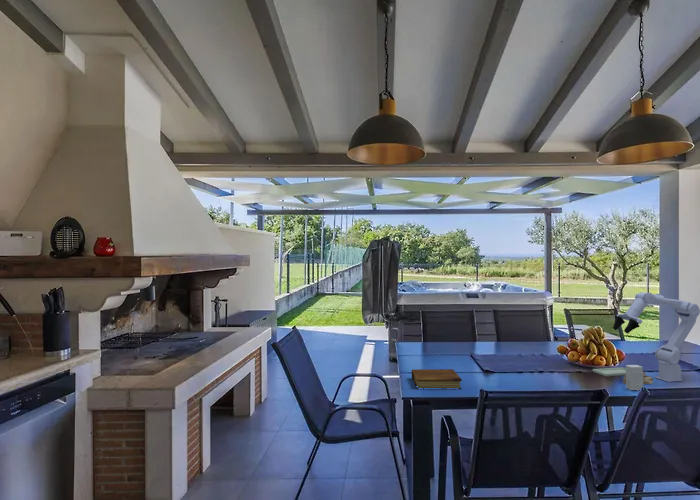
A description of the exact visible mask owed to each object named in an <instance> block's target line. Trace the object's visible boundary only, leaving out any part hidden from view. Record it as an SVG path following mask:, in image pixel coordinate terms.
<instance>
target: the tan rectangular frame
mask: <svg viewBox="0 0 700 500" xmlns="http://www.w3.org/2000/svg"><path fill="white" fill-rule="evenodd" d="M653 378H654V377H651V376H649V375H646V374H645V377H644V378H643V385H652V384H654V380H653ZM622 383H623V384H625V385H626V375H625V376H623V379H622Z"/></svg>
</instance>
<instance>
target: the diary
mask: <svg viewBox="0 0 700 500" xmlns="http://www.w3.org/2000/svg"><path fill="white" fill-rule="evenodd" d="M411 379H413V380H412V381H414V382H413V384H414V383H415V384H416V386H418V388H460V387H461V382H462V381H463V379H462V378H461V377H460V375H458V373H457V372H456V371H455V370H454V369H453V368H452V369H451V368H450V369H449V368H448V369H446V368H445V369H443V368H442V369H441V368H440V369H436V368H435V369H434V368H433V369H422V368H421V369H411ZM415 384H414V385H415ZM416 386H415V387H416Z"/></svg>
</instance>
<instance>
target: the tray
mask: <svg viewBox="0 0 700 500" xmlns="http://www.w3.org/2000/svg"><path fill="white" fill-rule="evenodd" d="M592 372H593V373H595V374H597V375H600V376H602V377H605V378H607V377H609V378H610V377H622V376H623V377H624V376H626V367H608V368H592Z"/></svg>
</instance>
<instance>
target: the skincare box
mask: <svg viewBox="0 0 700 500" xmlns="http://www.w3.org/2000/svg"><path fill="white" fill-rule="evenodd" d="M625 368H626V375H625V376H626V384H625V387H626V389H627V388H628V389H627V390H629V389H630V390H629V391H631V390H637V391H636V392H638V391H639V390H640V389H641V388H642V387H643V388H644V384H643V372H644V369H643V366H641V365H638V364H625ZM639 392H640V391H639Z"/></svg>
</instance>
